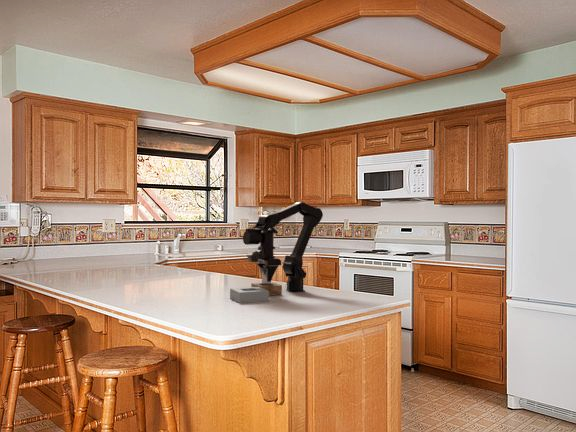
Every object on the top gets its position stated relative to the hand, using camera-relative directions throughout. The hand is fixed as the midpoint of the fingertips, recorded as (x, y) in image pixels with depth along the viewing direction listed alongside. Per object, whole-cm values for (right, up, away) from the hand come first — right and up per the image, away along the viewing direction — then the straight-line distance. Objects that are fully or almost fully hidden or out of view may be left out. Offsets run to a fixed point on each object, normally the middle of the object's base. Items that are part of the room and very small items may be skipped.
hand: (266, 280), depth 222 cm
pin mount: (0, -6, 0) cm, 6 cm away
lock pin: (0, -6, 0) cm, 6 cm away
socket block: (-6, -6, -16) cm, 18 cm away
